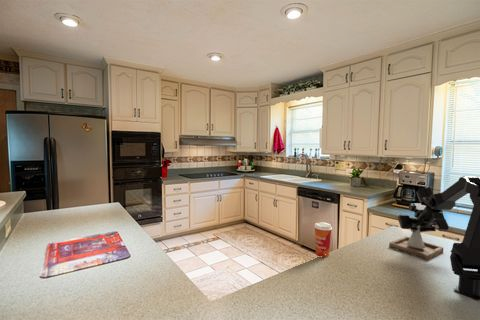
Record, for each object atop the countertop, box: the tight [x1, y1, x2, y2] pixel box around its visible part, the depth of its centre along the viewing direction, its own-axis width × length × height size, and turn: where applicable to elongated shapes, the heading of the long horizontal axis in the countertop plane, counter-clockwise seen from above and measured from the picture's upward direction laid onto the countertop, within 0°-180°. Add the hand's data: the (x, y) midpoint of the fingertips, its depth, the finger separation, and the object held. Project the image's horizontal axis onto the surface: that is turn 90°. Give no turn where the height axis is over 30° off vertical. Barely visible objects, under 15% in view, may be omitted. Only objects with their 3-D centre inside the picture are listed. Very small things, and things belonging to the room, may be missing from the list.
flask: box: [407, 226, 425, 249], centre depth 116 cm, size 7×7×10 cm
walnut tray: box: [388, 235, 444, 261], centre depth 117 cm, size 16×16×2 cm
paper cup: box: [313, 221, 333, 258], centre depth 110 cm, size 8×8×14 cm
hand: (415, 231), depth 117 cm, fingers closed on flask, 3 cm apart
